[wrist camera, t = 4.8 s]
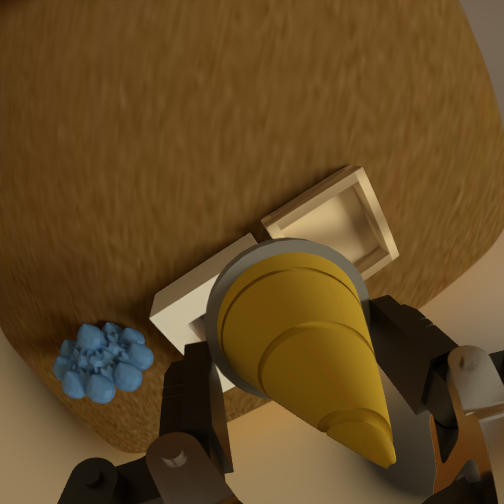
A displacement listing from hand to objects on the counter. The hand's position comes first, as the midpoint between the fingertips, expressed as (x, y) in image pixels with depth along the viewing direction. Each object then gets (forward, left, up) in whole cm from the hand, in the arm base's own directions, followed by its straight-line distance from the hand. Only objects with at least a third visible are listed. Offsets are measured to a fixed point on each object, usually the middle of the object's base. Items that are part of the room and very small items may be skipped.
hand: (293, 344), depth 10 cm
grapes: (+3, -18, -22) cm, 29 cm away
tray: (+8, +7, -22) cm, 25 cm away
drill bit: (0, 0, -4) cm, 4 cm away
